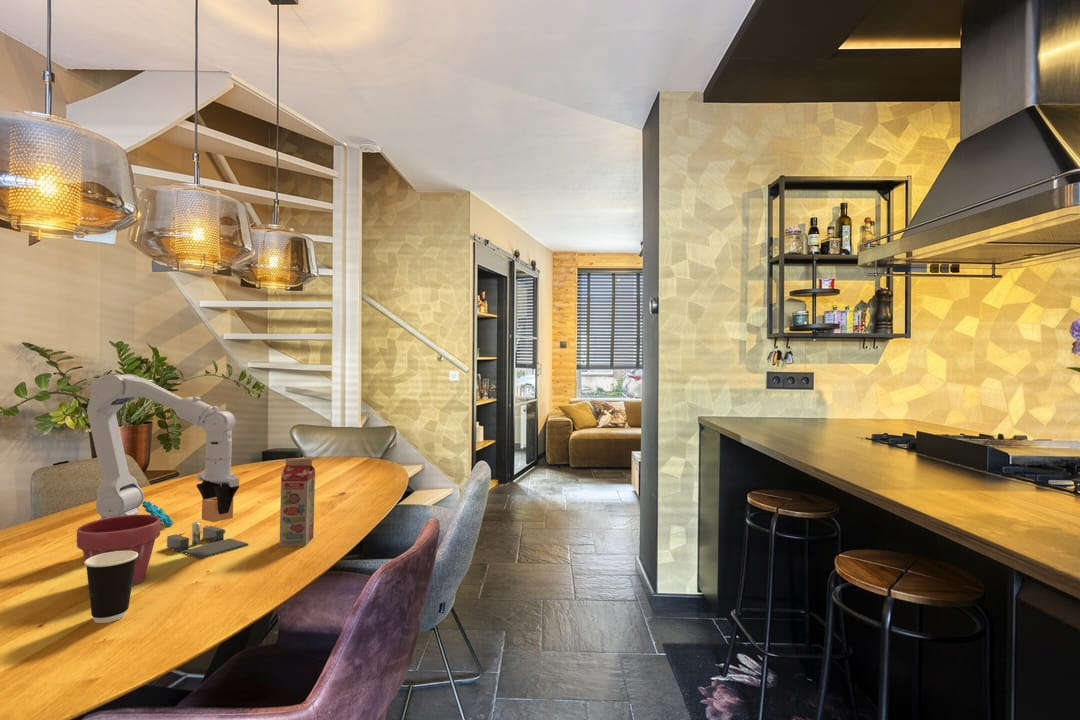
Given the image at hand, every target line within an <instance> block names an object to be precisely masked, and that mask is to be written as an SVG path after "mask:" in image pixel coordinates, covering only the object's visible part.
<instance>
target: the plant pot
mask: <svg viewBox="0 0 1080 720" xmlns="http://www.w3.org/2000/svg"><path fill="white" fill-rule="evenodd" d="M99 519H100V520H99ZM99 519H96V520H93V522H92V521H90V522H87V523H85V524H82V525H81V526H79V527H78V528H77V530H76V547H77V549H79V550H82V554H83V558H84V562H85V561H86V560H87V559H88V558H90V557H93V556H96V555H99V554H103V553H108V552H115V551H134V552H137V553H138V557H137V558H136V563H135V569H134V576H133V582H132V586H134V585H137V584H139V583H142V582H143V581H144V580H145V578H146V575H147V571H148V568H149V567H148V566H149V564H150V561H151V557H152V553H153V549H154V546H155V541H156V539H158V538H159V537H160V535H161V523H160V518H159V517H158V516H154V515H151V514H138V515H125V516H116V517H110V518H105V519H101V518H99Z"/></svg>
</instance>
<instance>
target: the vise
mask: <svg viewBox="0 0 1080 720" xmlns="http://www.w3.org/2000/svg"><path fill="white" fill-rule="evenodd" d="M191 530H192V531H191V545H192V546H198V545H197V544H199V545H201V521H197V522H192V526H191ZM225 533H226V529H224V528H220V527H216V526H212V525H210V526H204V527H202V539H203V540H205V539H206V540H205V541H209V540H210V541H209V542H212V541H213V542H212V543H214V542H218V541H221V540H225V539H224V536H225ZM167 547H168V548H170V549H169V550H172V549H174V550H173V551H175V550H177V551H176V552H178V551H180V552H179V553H182V552H181V551H184V550H188V549H190V548H189V547H190V538H189V537H187V536H183V535H180V534H176V533H175V534H171V535H167V537H166V548H167ZM168 548H167V549H168Z"/></svg>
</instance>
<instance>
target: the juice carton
mask: <svg viewBox="0 0 1080 720" xmlns="http://www.w3.org/2000/svg"><path fill="white" fill-rule="evenodd" d="M312 464H313V459H306V458H305V459H303V458H298V459H297V458H293V459H292V458H289V459H288V458H286V459H285V466H284V468H283V471H282V472H281V475H280V507H279V508H280V509H279V512H280V513H279V514H280V516H279V517H280V518H279V545H278V546H279V547H292V546H293V547H302V546H304V547H305V546H307V545H308V544H309V543H310V542H311V541H312V540H313V539H314V529H315V527H314V523H315V521H314V520H315V493H316V492H315V490H316V489H315V487H316V481H315V480H316V469H315V467H314V466H313V465H312Z"/></svg>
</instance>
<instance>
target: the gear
mask: <svg viewBox="0 0 1080 720" xmlns="http://www.w3.org/2000/svg"><path fill="white" fill-rule="evenodd" d="M141 506H142V507H143V508H145V509H144V511H145V512H146V513H149V515H154V516H158V517H159V518H160V524H162V523H163V525H164V526H165V527H168V526H169V527H171V526H173V525H174V523H173V522H174V521H173V519H171V516H170V515H169V514H166V513H165V510H164V508H162V507H160V509H159V506H158V505H156V504H153V503H152V502H151V501H149V500H148V501H147V500H143V502H142V504H141ZM170 525H171V526H170Z"/></svg>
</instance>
